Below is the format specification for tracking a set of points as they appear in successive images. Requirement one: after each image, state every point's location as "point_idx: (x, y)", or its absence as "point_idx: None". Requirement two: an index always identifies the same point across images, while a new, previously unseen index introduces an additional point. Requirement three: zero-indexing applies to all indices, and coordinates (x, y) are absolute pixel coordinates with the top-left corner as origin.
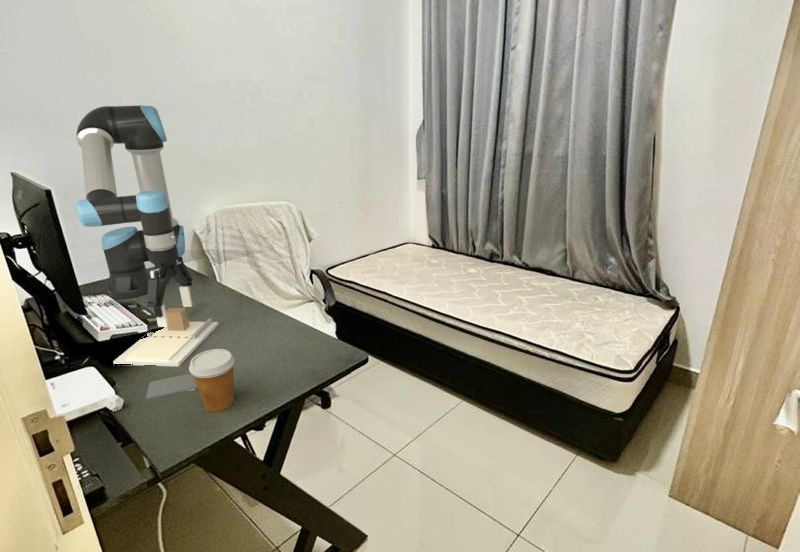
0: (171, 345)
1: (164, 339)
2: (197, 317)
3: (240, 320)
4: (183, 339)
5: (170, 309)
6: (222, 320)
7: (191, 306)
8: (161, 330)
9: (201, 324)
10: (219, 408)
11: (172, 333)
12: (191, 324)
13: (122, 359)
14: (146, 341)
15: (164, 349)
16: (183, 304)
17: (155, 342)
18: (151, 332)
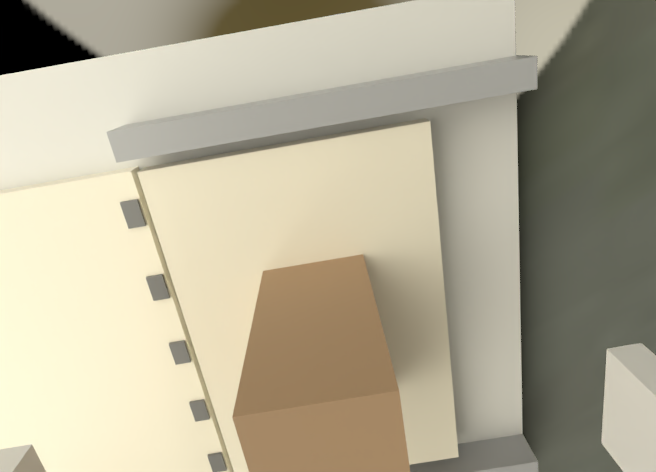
0: (72, 441)
1: (126, 331)
2: (651, 238)
3: None
4: (184, 459)
5: (351, 430)
6: (589, 446)
7: (605, 445)
8: (245, 204)
9: (432, 451)
10: None
11: (226, 341)
12: (420, 382)
13: None
14: (28, 201)
15: (1, 433)
16: (628, 381)
17: (51, 297)
18: (153, 154)
